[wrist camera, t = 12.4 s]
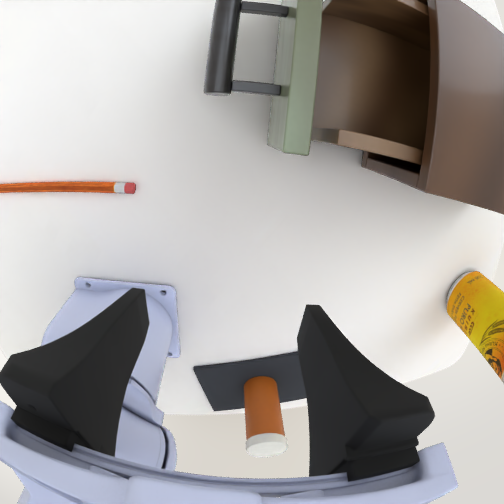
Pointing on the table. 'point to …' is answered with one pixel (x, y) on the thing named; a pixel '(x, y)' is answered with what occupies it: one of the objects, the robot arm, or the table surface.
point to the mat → (238, 373)
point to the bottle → (263, 418)
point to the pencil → (70, 187)
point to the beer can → (480, 315)
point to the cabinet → (459, 112)
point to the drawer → (336, 73)
